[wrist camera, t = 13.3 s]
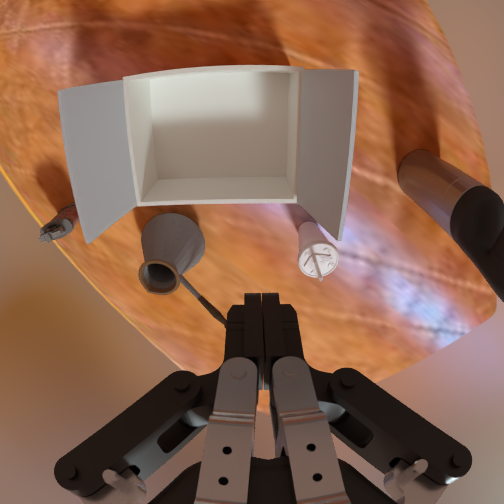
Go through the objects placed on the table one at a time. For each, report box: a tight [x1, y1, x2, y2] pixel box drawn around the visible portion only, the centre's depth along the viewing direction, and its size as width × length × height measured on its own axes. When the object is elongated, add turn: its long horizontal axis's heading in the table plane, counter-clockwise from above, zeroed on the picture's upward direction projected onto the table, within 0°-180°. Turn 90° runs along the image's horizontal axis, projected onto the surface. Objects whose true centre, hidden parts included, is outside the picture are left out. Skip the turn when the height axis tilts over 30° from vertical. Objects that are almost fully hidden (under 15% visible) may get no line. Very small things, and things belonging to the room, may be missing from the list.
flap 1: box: [58, 80, 137, 244], centre depth 30 cm, size 10×17×1 cm
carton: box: [123, 65, 304, 206], centre depth 39 cm, size 22×18×10 cm
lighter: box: [39, 203, 80, 242], centre depth 46 cm, size 8×3×10 cm, turn 104°
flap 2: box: [297, 69, 359, 241], centre depth 30 cm, size 10×17×1 cm
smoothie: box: [297, 221, 339, 281], centre depth 48 cm, size 6×6×14 cm
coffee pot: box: [138, 213, 227, 328], centre depth 49 cm, size 21×12×15 cm, turn 49°
